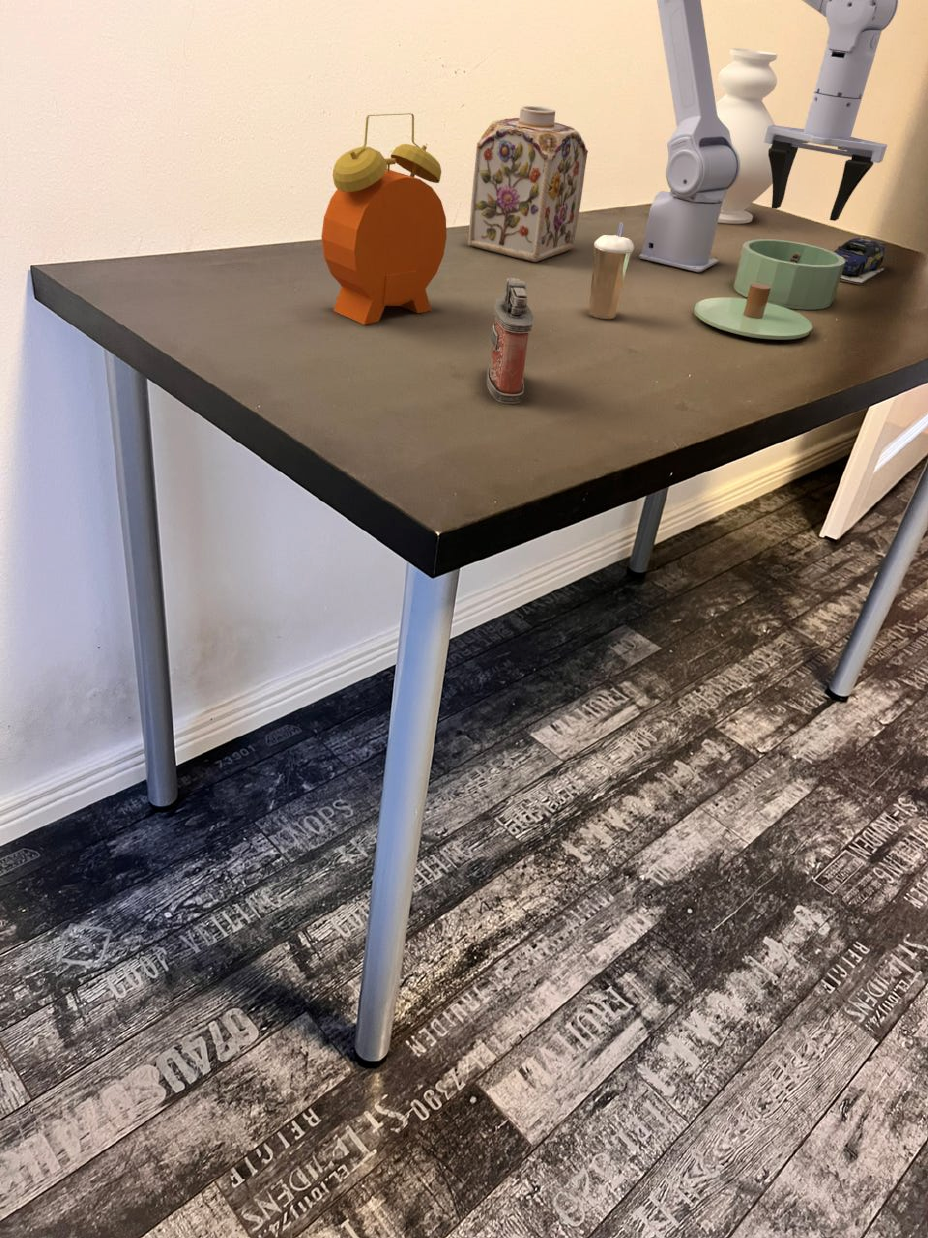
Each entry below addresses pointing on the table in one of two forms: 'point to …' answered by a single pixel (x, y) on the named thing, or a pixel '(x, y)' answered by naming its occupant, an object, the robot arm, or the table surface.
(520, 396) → the lighter
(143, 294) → the table surface
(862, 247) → the race car
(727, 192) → the decorative vase
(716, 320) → the lid
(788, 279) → the canister
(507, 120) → the decorative jar
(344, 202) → the alarm clock
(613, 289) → the milkshake
